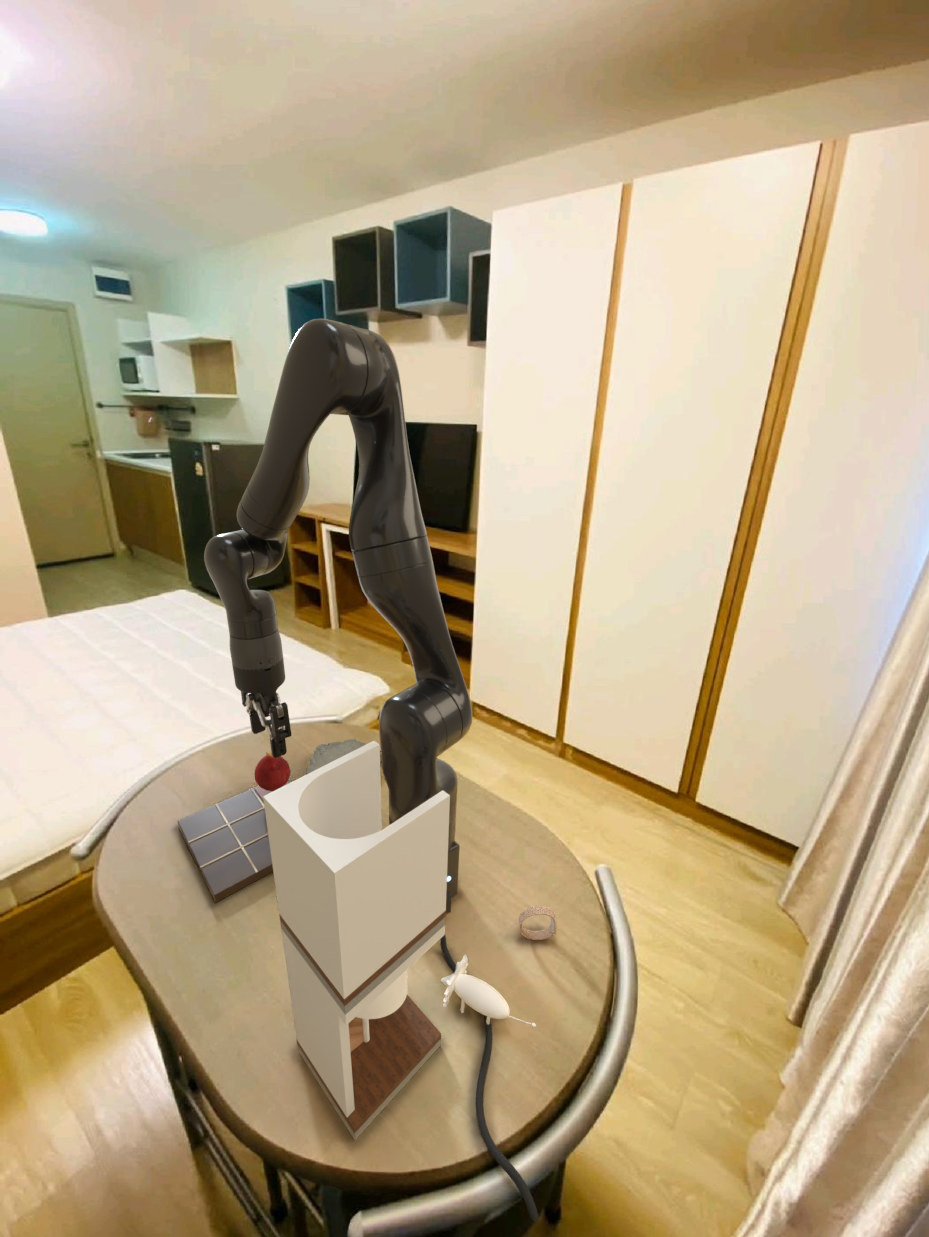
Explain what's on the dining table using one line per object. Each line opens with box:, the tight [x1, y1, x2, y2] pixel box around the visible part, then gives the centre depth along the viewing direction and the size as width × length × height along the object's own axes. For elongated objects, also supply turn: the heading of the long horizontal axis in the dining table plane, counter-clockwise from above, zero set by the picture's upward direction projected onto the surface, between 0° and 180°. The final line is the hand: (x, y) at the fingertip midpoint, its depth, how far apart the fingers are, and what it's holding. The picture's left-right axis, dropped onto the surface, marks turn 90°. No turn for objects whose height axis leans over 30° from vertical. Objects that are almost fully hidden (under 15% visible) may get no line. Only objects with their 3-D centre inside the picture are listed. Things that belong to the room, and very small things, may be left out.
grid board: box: [176, 779, 291, 903], centre depth 84 cm, size 18×18×2 cm
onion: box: [254, 750, 291, 791], centre depth 90 cm, size 6×6×8 cm
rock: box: [305, 738, 382, 775], centre depth 99 cm, size 12×16×5 cm
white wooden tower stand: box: [263, 740, 450, 1141], centre depth 50 cm, size 11×11×35 cm
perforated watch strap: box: [518, 905, 557, 941], centre depth 69 cm, size 3×5×5 cm, turn 91°
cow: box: [440, 953, 537, 1028], centre depth 60 cm, size 12×5×5 cm, turn 59°
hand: (269, 743), depth 87 cm, fingers open, 8 cm apart
